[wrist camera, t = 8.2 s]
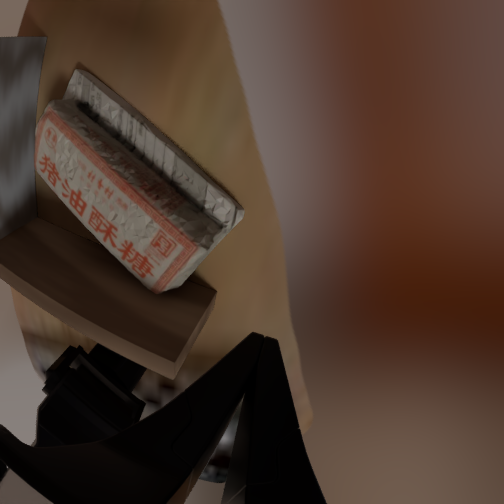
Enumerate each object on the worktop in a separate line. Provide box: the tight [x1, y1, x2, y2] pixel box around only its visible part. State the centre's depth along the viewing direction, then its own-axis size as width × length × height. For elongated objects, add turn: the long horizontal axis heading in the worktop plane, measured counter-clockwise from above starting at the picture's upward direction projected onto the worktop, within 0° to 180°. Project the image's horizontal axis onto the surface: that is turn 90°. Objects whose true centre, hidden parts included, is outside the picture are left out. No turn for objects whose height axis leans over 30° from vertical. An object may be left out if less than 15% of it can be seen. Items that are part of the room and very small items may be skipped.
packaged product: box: [33, 69, 245, 294], centre depth 20 cm, size 18×5×10 cm
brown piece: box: [0, 37, 217, 380], centre depth 16 cm, size 21×24×10 cm
